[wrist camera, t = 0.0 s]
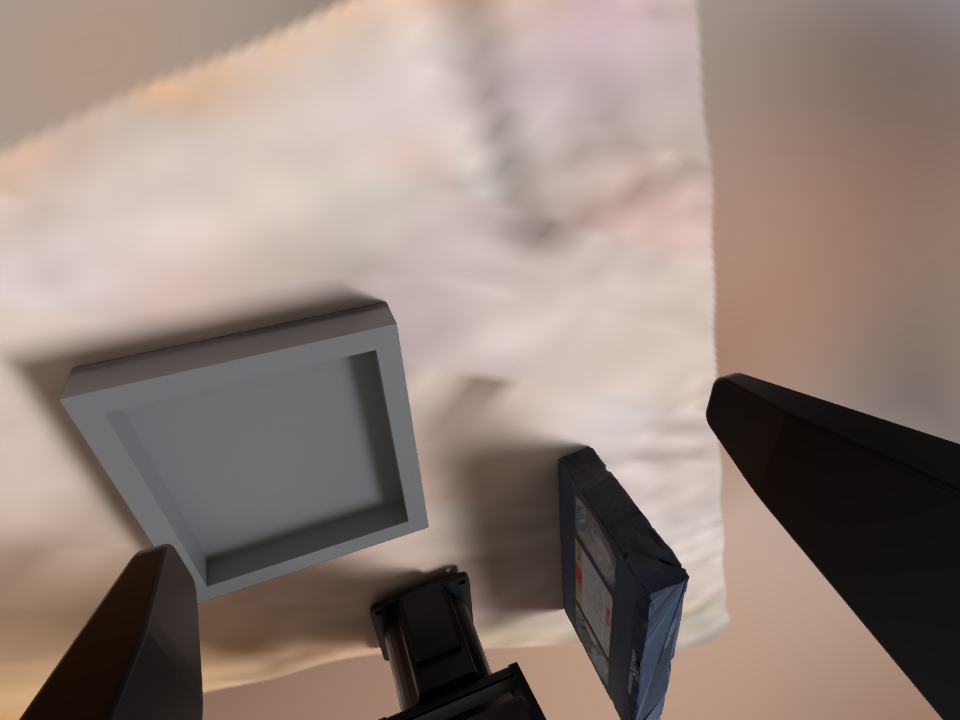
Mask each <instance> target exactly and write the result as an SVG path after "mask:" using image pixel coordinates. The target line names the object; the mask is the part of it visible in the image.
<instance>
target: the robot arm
mask: <svg viewBox="0 0 960 720" xmlns="http://www.w3.org/2000/svg"><path fill="white" fill-rule="evenodd" d="M706 418H707V422H708V424H709V426H710V428H711V429H712V430H713V432H714V433H715V435H716V436H717V438H718V439H719V441H720V442H721V444H722V445H723V447H724V448H725V450H726V451H727V453H728V454H729V455H730V457H731V458H732V460H733V461H734V463H735V464H736V466H737V467H738V469H739V470H740V472H741V473H742V474H743V476H744V477H745V479H746V480H747V482H748V483H749V485H750V486H751V487H752V489H753V490H754V492H755V493H756V494H757V496H758V497H759V498H760V499H761V501H762V502H763V503H764V504H765V506H766V507H767V508H768V509H769V511H770V512H771V513H772V514H773V515H774V517H775V518H776V519H777V520H778V521H779V522H780V524H781V525H782V526H783V527H784V529H785V530H786V531H787V532H788V533H789V535H790V536H791V537H792V538H793V540H794V541H795V542H796V543H797V544H798V545H799V547H800V548H801V549H802V550H803V552H804V553H805V554H806V555H807V556H808V557H809V559H810V560H811V561H812V562H813V564H814V565H815V566H816V567H817V568H818V570H819V571H820V572H821V573H822V574H823V576H824V577H825V578H826V579H827V580H828V582H829V583H830V584H831V585H832V586H833V588H834V589H835V590H836V591H837V593H838V594H839V595H840V596H841V597H842V599H843V600H844V601H845V602H846V603H847V605H848V606H849V607H850V608H851V609H852V611H853V612H854V613H855V614H856V616H857V617H858V618H859V619H860V620H861V622H863V624H864V625H865V626H866V628H867V629H868V630H869V631H870V632H871V633H872V635H873V636H874V637H875V638H876V640H877V641H878V642H879V643H880V644H881V646H882V647H883V648H884V649H885V651H886V652H887V653H888V654H889V655H890V657H891V658H892V659H893V660H894V661H895V663H896V664H897V665H898V666H899V667H900V669H901V670H902V671H903V672H904V673H905V675H907V677H908V678H909V679H910V681H911V682H912V683H913V684H914V685H915V687H916V688H917V689H918V690H919V692H920V693H921V694H922V695H923V696H924V697H925V698H926V700H927V701H928V702H929V704H930V705H931V706H932V707H933V708H934V710H935V711H936V712H937V713H938V714H939V716H940V717H941V718H942V719H943V720H960V444H958V443H955V442H952V441H948V440H945V439H942V438H939V437H936V436H933V435H930V434H927V433H924V432H921V431H918V430H914V429H911V428H908V427H905V426H902V425H899V424H896V423H893V422H890V421H887V420H884V419H880V418H877V417H874V416H871V415H868V414H865V413H862V412H859V411H856V410H853V409H850V408H847V407H844V406H840V405H837V404H834V403H831V402H828V401H825V400H822V399H819V398H816V397H813V396H810V395H807V394H803V393H800V392H797V391H794V390H791V389H788V388H785V387H782V386H779V385H775V384H772V383H769V382H766V381H763V380H760V379H757V378H754V377H751V376H748V375H745V374H741V373H733V374H729V375H726V376H723V377H719V378H718V379H716V381H715V382H714V384H713V387H712V391H711V395H710V399H709V402H708V406H707V410H706ZM370 613H371V617H372V620H373V624H374V627H375V630H376V634H377V637H378V640H379V644H380V647H381V650H382V654H383V657H384V659H385V660H387V661H390V665H391V669H392V673H393V678H394V682H395V687H396V691H397V696H398V700H399V704H400V709H401V712H400V713H397V714H395V715H393V716H390V717H388V718H386V717H383V718H381V719H379V720H546V718H545V716H544V714H543V712H542V710H541V708H540V706H539V704H538V702H537V700H536V699H535V697H534V695H533V693H532V691H531V689H530V687H529V685H528V683H527V681H526V679H525V677H524V675H523V673H522V671H521V669H520V667H519V665H518V663H517V662H515V663H512V664H510V665H508V667H507V668H505V669H502V670H500V671H498V672H495V673H493V674H492V672H491V670H490V667H489V665H488V662H487V659H486V656H485V653H484V651H483V648H482V645H481V643H480V640H479V637H478V635H477V632H476V629H475V627H474V624H473V614H472V603H471V593H470V583H469V578H468V575H467V573H466V572H460V573H457V574H454V575H452V576H449V577H446V578H443V579H440V580H438V581H435V582H432V583H429V584H427V585H424V586H421V587H418V588H415V589H413V590H410V591H407V592H404V593H402V594H399V595H396V596H393V597H390V598H388V599H385V600H382V601H379V602H377V603H374V604H373V605H372V606H371V607H370ZM202 713H203V692H202V673H201V656H200V640H199V624H198V608H197V593H196V586H195V582H194V579H193V577H192V575H191V573H190V572H189V570H188V568H187V567H186V565H185V564H184V562H183V560H182V559H181V557H180V555H179V554H178V552H177V550H176V549H175V548H174V546H172V545H171V544H162V545H158V546H155V547H152V548H148V549H145V550H142V551H139V552H138V553H136V554H135V555H134V556H133V557H132V558H131V560H130V561H129V563H128V564H127V566H126V567H125V568H124V570H123V571H122V573H121V574H120V576H119V577H118V578H117V580H116V581H115V583H114V584H113V586H112V587H111V589H110V590H109V591H108V593H107V594H106V596H105V597H104V599H103V600H102V601H101V603H100V604H99V606H98V607H97V609H96V610H95V612H94V613H93V614H92V616H91V617H90V619H89V620H88V622H87V623H86V624H85V626H84V627H83V629H82V630H81V632H80V633H79V634H78V636H77V637H76V639H75V640H74V642H73V643H72V645H71V646H70V647H69V649H68V650H67V652H66V653H65V655H64V656H63V657H62V659H61V660H60V662H59V663H58V665H57V666H56V668H55V669H54V670H53V672H52V673H51V675H50V676H49V678H48V679H47V680H46V682H45V683H44V685H43V686H42V688H41V689H40V691H39V692H38V693H37V695H36V696H35V698H34V699H33V701H32V702H31V703H30V705H29V706H28V708H27V709H26V711H25V712H24V714H23V715H22V716H21V718H20V719H19V720H202Z"/></svg>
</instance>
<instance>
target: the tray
mask: <svg viewBox="0 0 960 720" xmlns="http://www.w3.org/2000/svg"><path fill="white" fill-rule="evenodd" d="M59 400H60V402H61V403H62V405H63V406H64V408H65V409H66V411H67V413H68V414H69V416H70V417H71V419H72V420H73V422H74V423H75V425H76V427H77V428H78V430H79V431H80V433H81V434H82V436H83V437H84V439H85V441H86V442H87V444H88V445H89V447H90V448H91V450H92V451H93V453H94V454H95V456H96V458H97V459H98V461H99V462H100V464H101V465H102V467H103V468H104V470H105V472H106V473H107V475H108V476H109V478H110V479H111V481H112V482H113V484H114V485H115V487H116V489H117V490H118V492H119V493H120V495H121V496H122V498H123V499H124V501H125V503H126V504H127V506H128V507H129V509H130V510H131V512H132V513H133V515H134V517H135V518H136V520H137V521H138V523H139V524H140V526H141V527H142V529H143V530H144V532H145V534H146V535H147V537H148V538H149V540H150V541H151V543H152V544H153V546H154V547H155V546H158V545H162V544H171V545H172V546H174V548H175V549H176V550H177V552H178V554H179V555H180V557H181V559H182V560H183V562H184V564H185V565H186V567H187V568H188V570H189V572H190V573H191V575H192V577H193V579H194V582H195V586H196V593H197V604H199V603H202V602H205V601H208V600H211V599H214V598H217V597H220V596H223V595H226V594H229V593H232V592H235V591H238V590H241V589H244V588H247V587H250V586H253V585H256V584H259V583H262V582H265V581H268V580H271V579H274V578H277V577H280V576H283V575H286V574H289V573H292V572H295V571H298V570H301V569H304V568H307V567H310V566H313V565H316V564H319V563H322V562H325V561H328V560H331V559H334V558H337V557H340V556H343V555H346V554H349V553H352V552H356V551H359V550H362V549H365V548H368V547H371V546H374V545H377V544H380V543H383V542H386V541H389V540H392V539H395V538H398V537H401V536H404V535H407V534H410V533H413V532H416V531H419V530H422V529H425V528H428V527H429V526H428V520H427V514H426V507H425V501H424V495H423V488H422V482H421V476H420V469H419V463H418V457H417V450H416V444H415V437H414V431H413V425H412V418H411V412H410V406H409V399H408V393H407V387H406V380H405V374H404V368H403V361H402V355H401V348H400V342H399V336H398V329H397V324H396V321H395V319H394V317H393V315H392V313H391V311H390V309H389V307H388V305H387V303H386V302H383V303H378V304H374V305H369V306H364V307H360V308H355V309H350V310H345V311H341V312H336V313H331V314H327V315H322V316H317V317H312V318H308V319H303V320H298V321H294V322H289V323H284V324H279V325H275V326H270V327H265V328H261V329H256V330H251V331H246V332H242V333H237V334H232V335H228V336H223V337H218V338H213V339H209V340H204V341H199V342H195V343H190V344H185V345H180V346H176V347H171V348H166V349H162V350H157V351H152V352H147V353H143V354H138V355H133V356H129V357H124V358H119V359H114V360H110V361H105V362H100V363H96V364H91V365H86V366H81V367H77V368H73V369H72V371H71V373H70V376H69V378H68V380H67V383H66V385H65V387H64V389H63V392H62V394H61V396H60V398H59Z"/></svg>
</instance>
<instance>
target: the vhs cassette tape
mask: <svg viewBox="0 0 960 720" xmlns="http://www.w3.org/2000/svg"><path fill="white" fill-rule="evenodd" d="M558 479H559V513H560V536H561V561H562V581H563V600H564V609H565V612H566V614H567V616H568V618H569V620H570V621H571V623H572V625H573V627H574V629H575V631H576V633H577V635H578V637H579V639H580V641H581V642H582V644H583V646H584V648H585V650H586V653H587V654H588V656H589V658H590V660H591V662H592V664H593V666H594V668H595V670H596V672H597V674H598V675H599V678H600V680H601V682H602V684H603V685H604V687H605V689H606V691H607V693H608V695H609V697H610V699H611V700H612V701H613V703H614V707H615V709H616V711H617V712H618V715H619V717H620V719H621V720H660V715H661V714H662V710H663V706H664V700H665V693H666V691H667V687H668V683H669V677H670V671H671V662H670V661H671V660H672V658H673V657H674V652H675V646H676V641H677V636H678V631H679V626H680V620H681V615H682V605H683V598H684V593H685V592H686V588H687V582H688V579H689V576H688V574H687V573H686V569H684V568H681V567H682V565H681V563H680V562H679V561H678V559H677V557H676V556H675V554H674V552H673V551H672V549H671V548H670V547H669V546H668V545H667V544H666V543H665V542H664V541H663V539H662V538H661V537H660V536H659V535H658V533H657V532H656V531H655V529H653V528H652V526H651V525H650V523H649V521H648V520H647V518H646V517H645V516H644V515H643V513H642V512H641V511H640V510H639V508H638V507H637V506H636V505H635V503H634V502H633V500H632V499H631V498H630V496H629V495H628V494H627V492H626V491H625V490H624V488H623V487H622V486H621V485H620V483H619V482H618V480H617V479H616V478H615V477H614V476H613V474H612V473H611V472H609V471H607V470H606V465H605V464H604V463H603V462H602V460H601V459H600V458H599V456H598V455H597V454H596V452H595V450H594V449H593V448H585V449H583V450H581V451H578V452H577V453H576V454H571V455H569V456H566V457H563V458H561V459H559V460H558ZM669 550H670V551H669Z"/></svg>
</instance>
